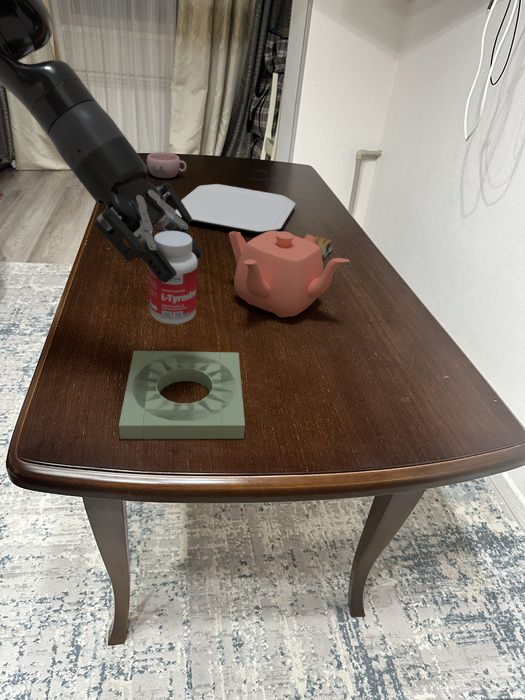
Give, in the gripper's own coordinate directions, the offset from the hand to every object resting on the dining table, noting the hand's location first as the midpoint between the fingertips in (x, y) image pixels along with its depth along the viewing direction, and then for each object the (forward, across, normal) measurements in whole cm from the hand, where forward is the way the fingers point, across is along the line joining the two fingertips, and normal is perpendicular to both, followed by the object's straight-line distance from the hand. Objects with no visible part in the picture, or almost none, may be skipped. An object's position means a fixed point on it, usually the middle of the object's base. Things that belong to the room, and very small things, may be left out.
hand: (184, 268), depth 62 cm
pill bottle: (+4, 0, +6) cm, 8 cm away
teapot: (+16, +30, +10) cm, 35 cm away
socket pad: (+15, -3, +12) cm, 19 cm away
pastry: (+15, +56, +11) cm, 59 cm away
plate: (-3, +69, +29) cm, 75 cm away
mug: (-24, +84, +51) cm, 102 cm away
